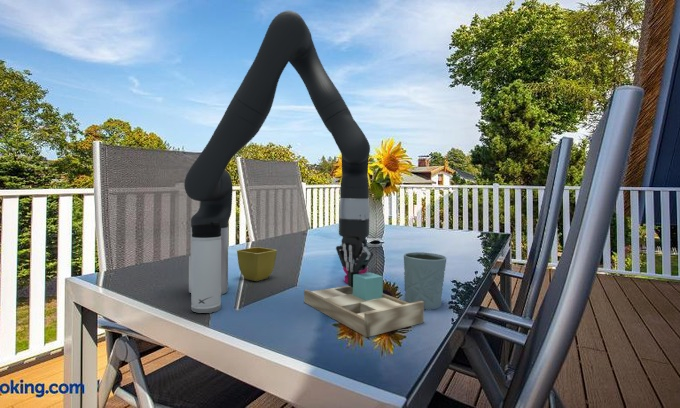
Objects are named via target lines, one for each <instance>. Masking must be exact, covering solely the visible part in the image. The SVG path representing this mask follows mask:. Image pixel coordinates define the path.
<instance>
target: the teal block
mask: <svg viewBox="0 0 680 408" xmlns="http://www.w3.org/2000/svg"><path fill="white" fill-rule="evenodd" d="M383 286H384V276H382V275H379V274H376V273H373V272H370V271H369V272H365V273H361V274H354V275H353V296H356V297H358V298H360V299H363V300H365V301H367V300H372V299H378V298H383V293H384V292H383V290H384V287H383Z"/></svg>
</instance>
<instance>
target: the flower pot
mask: <svg viewBox="0 0 680 408" xmlns="http://www.w3.org/2000/svg"><path fill="white" fill-rule="evenodd" d="M277 252H278V250H277V249H275V248H273V249H272V248H266V247H259V246H258V247H257V246H255V247H248V248H242V249H237V250H236V255H237V264H238V269H239V271H240V274H241V275H242V277H243V278H244V279H245V280H250V281H254V282H258V281H263V280H266V279H268V278H269V277H270V275H271V274H272V273H273V270H274V269H275V266H276V265H275V264H276V257H277Z"/></svg>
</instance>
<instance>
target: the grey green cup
mask: <svg viewBox="0 0 680 408" xmlns="http://www.w3.org/2000/svg"><path fill="white" fill-rule="evenodd" d="M447 259H448V258H447V257H446V256H445V255H442V254H439V253H438V254H437V253H432V252H425V251H423V252H420V251H417V252H413V251H412V252H406V253H403V265H404V266H403V269H404V272H403V275H404V277H403V279H404V285H403V286H404V291H405V292H404V301H405V302H408V303H413V302H418V301H423V302H424V310H425V309H426V310H425V311H427V309H428V310H429V311H430V309H432V310H436V308H437V309H439V308H440V307H441V304H442V295H443V286H444V281H445V271H446V265H447Z"/></svg>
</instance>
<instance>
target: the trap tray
mask: <svg viewBox="0 0 680 408" xmlns="http://www.w3.org/2000/svg"><path fill="white" fill-rule="evenodd" d="M303 303H305V304H306V305H308V306H310V307H312V308H313V309H315V310H317V311H318V312H320V313H322V314H324V315H326V316H328V317H330V318H331V319H333V320H335V321H336V322H339V323H340V324H342V325H343V326H346V327H347V328H349V329H351V330H353V331H355V332H356V333H358V334H360V335H362V336H363V337H366V338H369V337H374V336H377V335H380V334H385V333H389V332H392V331H396V330H400V329H404V328H408V327H411V326H415V325H419V324H423V323H424V317H425V315H424V314H425V312H424V302H423V301H418V302H413V303H408V302H405V300H402V299H399V298H397V297H395V296H391V295H389V294H386V293H384V292H383V298H378V299H372V300H367V301H365V300H363V299H360V298H358V297H356V296H353V287H350V286H348V285H343V286H339V287H331V288H325V289H324V288H323V289H318V290H309V289H304V291H303Z"/></svg>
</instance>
